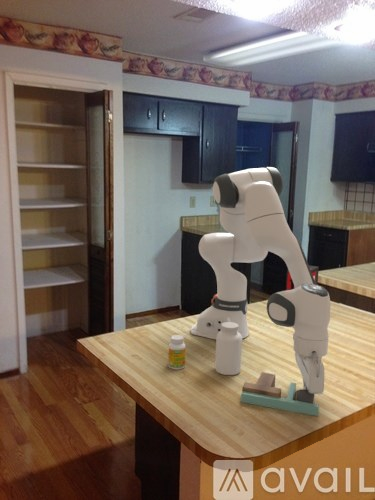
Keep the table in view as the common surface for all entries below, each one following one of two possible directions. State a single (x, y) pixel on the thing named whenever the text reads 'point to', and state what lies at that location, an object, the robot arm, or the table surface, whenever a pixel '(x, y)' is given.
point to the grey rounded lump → (305, 396)
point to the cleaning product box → (290, 282)
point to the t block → (263, 386)
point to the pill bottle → (228, 349)
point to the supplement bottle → (176, 352)
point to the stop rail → (281, 402)
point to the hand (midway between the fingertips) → (307, 392)
